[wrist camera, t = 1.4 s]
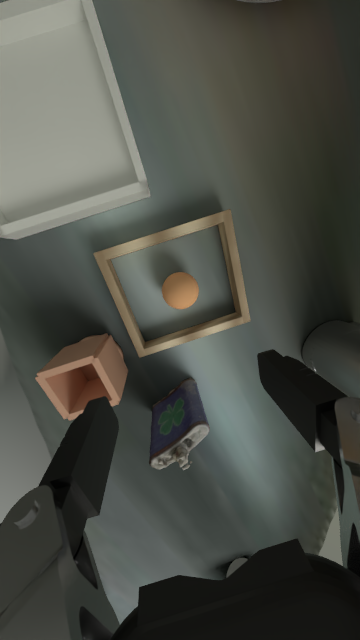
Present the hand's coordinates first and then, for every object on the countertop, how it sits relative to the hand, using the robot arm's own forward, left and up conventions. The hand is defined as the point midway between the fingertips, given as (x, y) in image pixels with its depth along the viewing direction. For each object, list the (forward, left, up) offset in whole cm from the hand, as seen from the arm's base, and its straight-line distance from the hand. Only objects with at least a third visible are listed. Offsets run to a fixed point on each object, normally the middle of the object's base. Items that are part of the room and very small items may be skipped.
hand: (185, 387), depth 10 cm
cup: (+12, +4, -17) cm, 21 cm away
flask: (+4, +15, -17) cm, 23 cm away
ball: (-2, -2, -15) cm, 15 cm away
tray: (+6, -20, -17) cm, 27 cm away
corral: (-2, -2, -17) cm, 17 cm away
